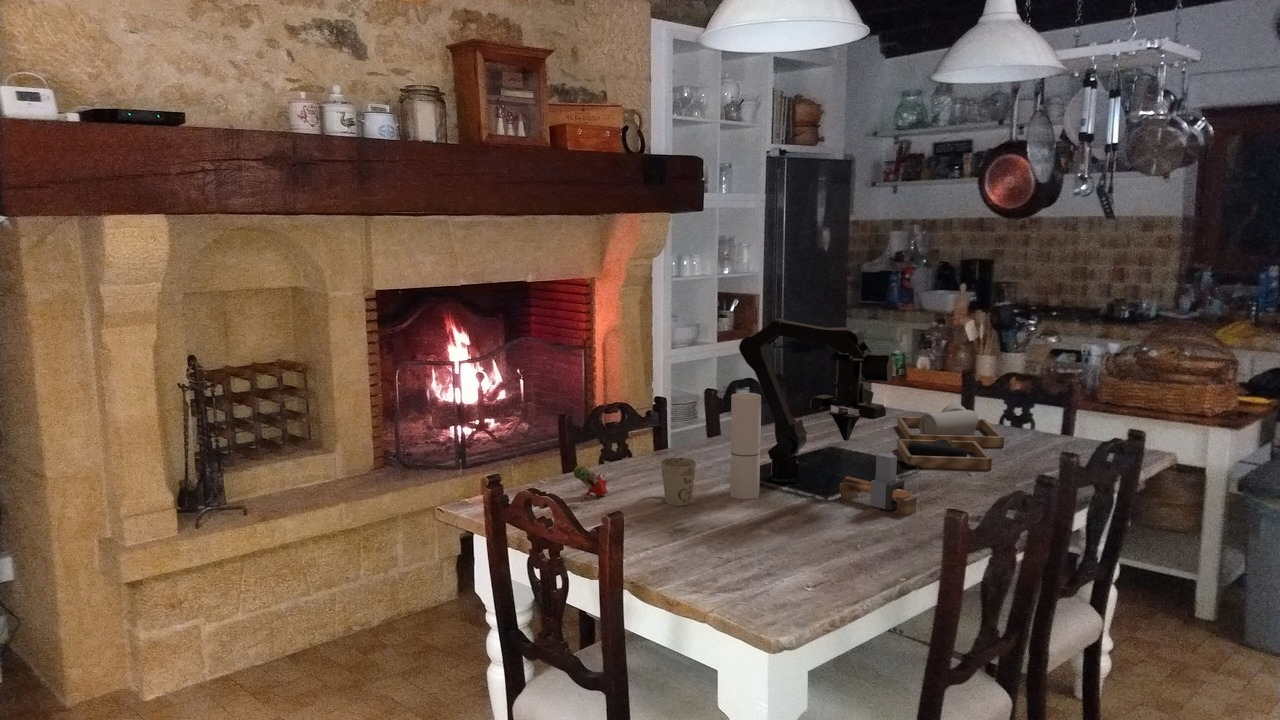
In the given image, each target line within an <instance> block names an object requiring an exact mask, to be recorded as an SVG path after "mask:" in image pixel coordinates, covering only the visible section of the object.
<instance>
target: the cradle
mask: <svg viewBox="0 0 1280 720" xmlns="http://www.w3.org/2000/svg"><path fill="white" fill-rule="evenodd" d="M838 489H839V493H840V494H841V498H840V499H843V500H846V501H848V500H851V499H854V498H856V497H859V492H857V491H853V490H851V489H850V485H846V484H843V482H842V483H839V488H838ZM916 512H917V496H916V495H912V494H910V496H909V497H907V498H904V499H901V498H898V499H897V508H896V514H899V515H902V516H909V515H911V514H913V513H916Z"/></svg>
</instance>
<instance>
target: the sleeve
mask: <svg viewBox="0 0 1280 720" xmlns="http://www.w3.org/2000/svg"><path fill="white" fill-rule="evenodd" d="M875 457H876V460H875V479H873V480H871V481H870V482H871V495H870V502H869V505H870V506H872V507H876V508H879V509H883V510H886V509H885V499H886V484H888V483H891V482H894V481H897V480H899V479H900V478H897V463H898V462H897V461H898V456H897V455H894V454H888V453H885V452H880V453H877V454H876V455H875ZM896 488H897V487H896ZM892 502H894V501H892Z"/></svg>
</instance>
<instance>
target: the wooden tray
mask: <svg viewBox="0 0 1280 720" xmlns="http://www.w3.org/2000/svg"><path fill="white" fill-rule="evenodd" d="M896 442H897V443H896V450H897V452H898V453H899V455H900V457H901V458H902V460H903V462H904V463H905V462H906V463H907V464H911V465H918V466H921V467H922V468H924V469H925V468H928V469H957V470H958V469H959V470H992V466H993V464H992V463H993V458H992V457H991V456H990V454H988V453H987V452H986V451H985V450H984V449H983V447H980V446H979V445H978V444H977V443H976V441H951V444H952V447H956V448H964V449H967V453H972V454H973V455H974V456H971V457H970V456H967V457H942V456H911V454H910V453H909V451H908V447H909V443H910V442H914V443H923V444H931V445H933V444H934V442H935V440H908V439H905V438H903V439H902V438H901V439H899V438H898V439H897V440H896ZM906 463H905V464H906Z"/></svg>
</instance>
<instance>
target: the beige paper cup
mask: <svg viewBox="0 0 1280 720" xmlns="http://www.w3.org/2000/svg"><path fill="white" fill-rule="evenodd" d="M660 466H661V468H660V469H661V474H662V482H663V483H662V484H663V489H664V491H663V492H664V498H665V503H666V504H667V505H669V506H674V507H683V506H684V507H685V506H688V505H690V504H691V502H692V497H693V491H694V489H693V488H694V482H695V474H696V468H697V462H696V461H695V460H694V459H692V458H688V457H668V458H665V459H663V460H661V462H660Z"/></svg>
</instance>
